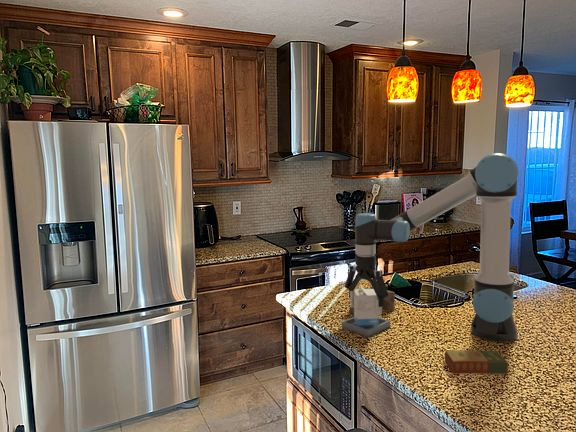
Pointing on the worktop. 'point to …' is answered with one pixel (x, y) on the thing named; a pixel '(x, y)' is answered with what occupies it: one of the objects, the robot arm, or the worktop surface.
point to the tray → (365, 327)
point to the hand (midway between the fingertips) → (365, 310)
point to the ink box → (365, 307)
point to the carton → (475, 362)
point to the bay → (385, 302)
